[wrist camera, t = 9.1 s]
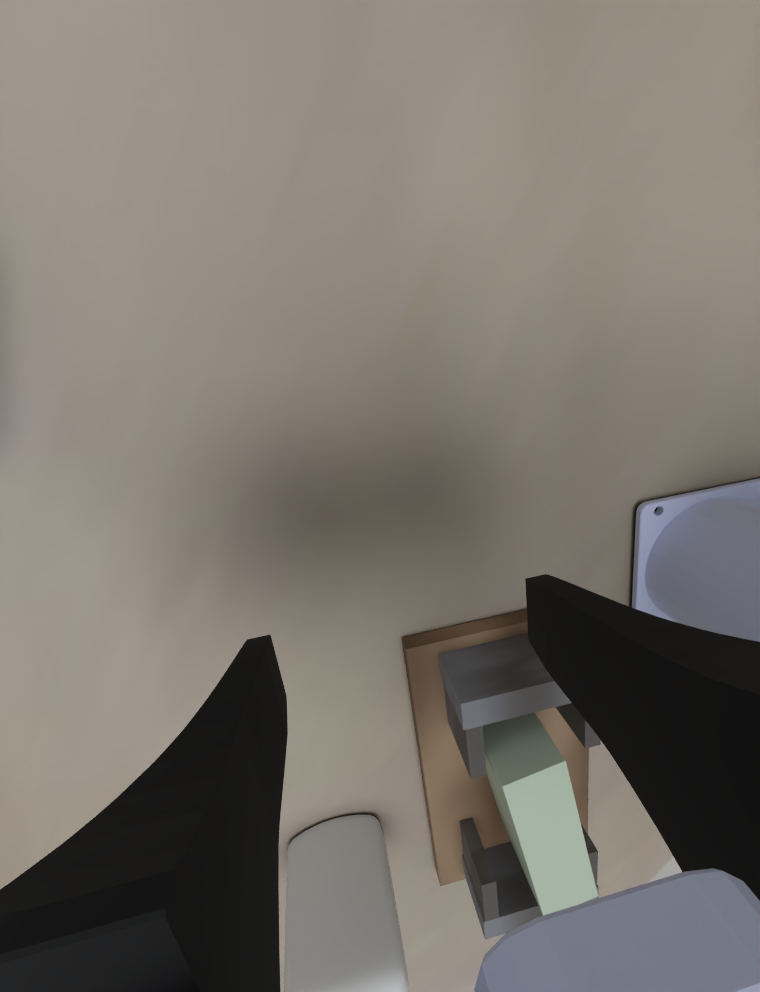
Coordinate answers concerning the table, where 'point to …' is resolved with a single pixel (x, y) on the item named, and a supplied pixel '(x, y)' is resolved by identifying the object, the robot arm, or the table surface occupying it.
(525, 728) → the rail plank
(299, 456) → the table surface
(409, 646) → the slotted holder
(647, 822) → the table surface
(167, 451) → the table surface
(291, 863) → the eye dropper bottle
